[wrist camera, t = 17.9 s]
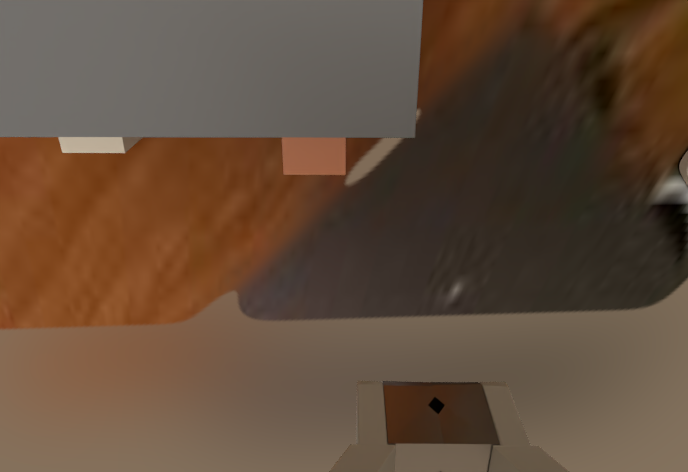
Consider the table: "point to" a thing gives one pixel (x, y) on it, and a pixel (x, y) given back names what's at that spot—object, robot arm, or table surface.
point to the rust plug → (314, 156)
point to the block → (209, 68)
